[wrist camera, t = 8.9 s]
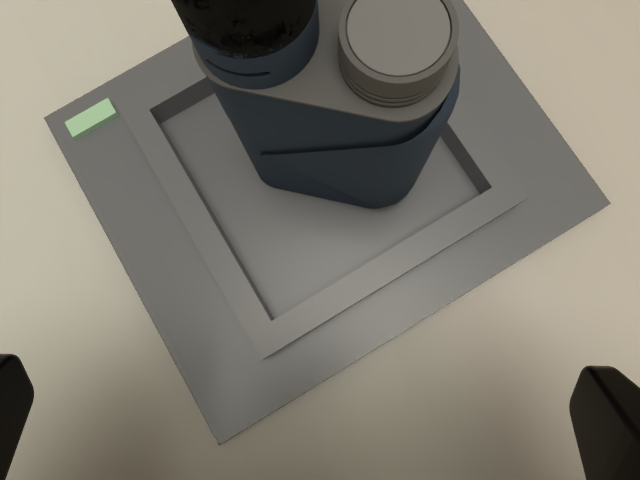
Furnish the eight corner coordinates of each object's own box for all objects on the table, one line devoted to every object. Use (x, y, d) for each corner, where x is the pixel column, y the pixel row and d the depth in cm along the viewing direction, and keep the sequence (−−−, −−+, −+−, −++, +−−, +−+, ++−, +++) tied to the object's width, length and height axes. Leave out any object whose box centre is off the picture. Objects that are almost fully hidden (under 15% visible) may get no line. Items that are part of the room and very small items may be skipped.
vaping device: (263, 110, 17) (96, -378, 5) (421, 144, 17) (623, -299, 5) (243, 185, 17) (12, -162, 5) (405, 221, 16) (580, -60, 5)
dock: (222, 442, 16) (210, 454, 14) (50, 122, 18) (24, 103, 16) (604, 206, 17) (630, 194, 15) (400, -76, 19) (405, -110, 17)
